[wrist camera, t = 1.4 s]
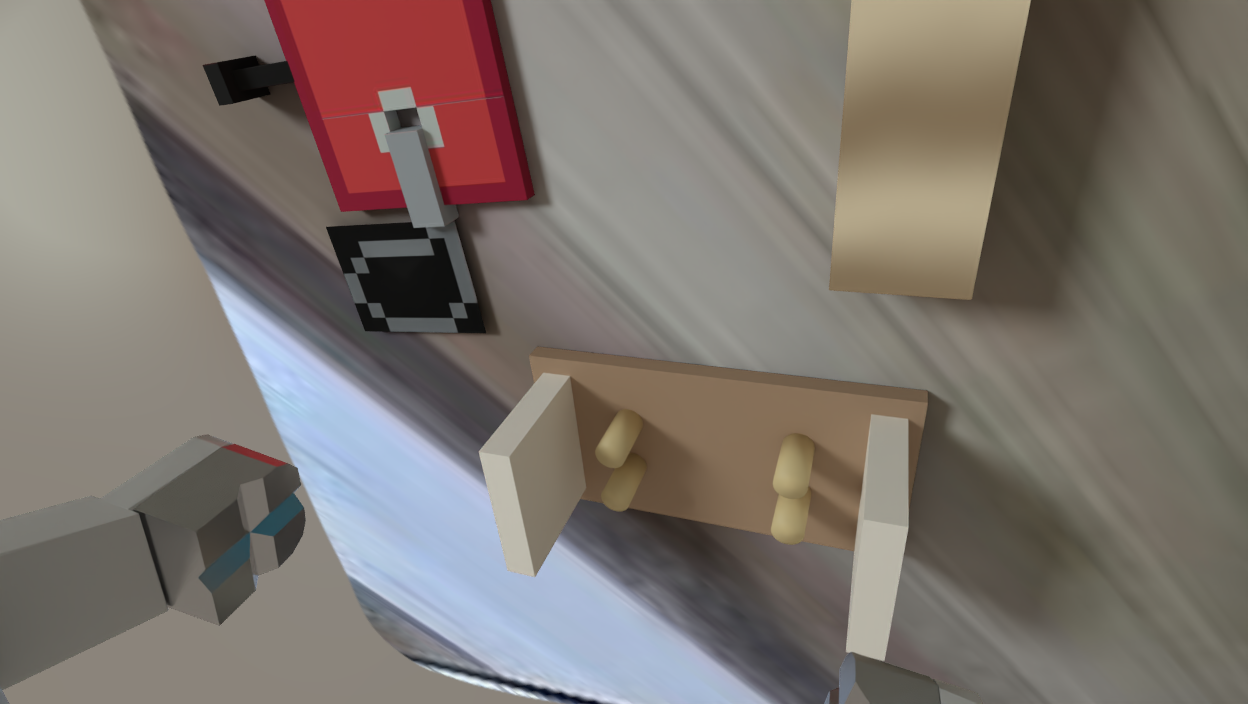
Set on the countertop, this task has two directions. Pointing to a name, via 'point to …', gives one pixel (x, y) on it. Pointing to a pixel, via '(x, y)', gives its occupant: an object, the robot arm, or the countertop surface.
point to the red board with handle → (399, 140)
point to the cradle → (714, 462)
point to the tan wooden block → (922, 142)
